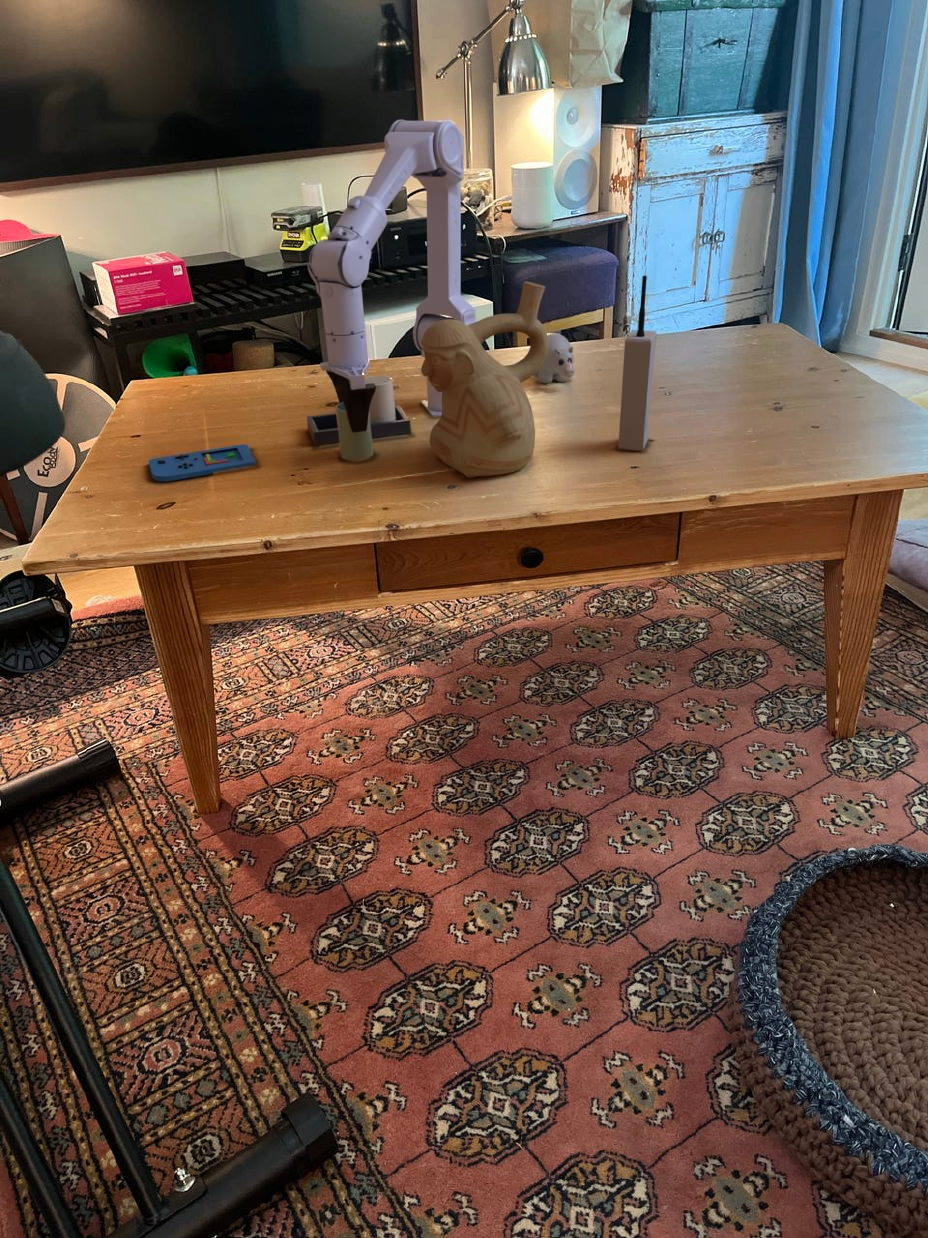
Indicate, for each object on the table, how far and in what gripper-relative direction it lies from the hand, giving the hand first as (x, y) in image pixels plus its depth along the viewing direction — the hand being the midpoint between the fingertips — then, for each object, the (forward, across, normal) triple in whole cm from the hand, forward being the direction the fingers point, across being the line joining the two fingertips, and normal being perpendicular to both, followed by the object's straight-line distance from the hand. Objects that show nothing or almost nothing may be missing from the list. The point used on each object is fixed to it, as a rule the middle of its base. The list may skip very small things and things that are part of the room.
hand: (354, 422), depth 135 cm
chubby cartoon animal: (+6, -22, +41) cm, 47 cm away
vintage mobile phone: (+6, +11, +41) cm, 43 cm away
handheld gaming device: (+5, -4, -23) cm, 24 cm away
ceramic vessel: (+6, +10, +18) cm, 21 cm away
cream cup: (+5, -9, +6) cm, 12 cm away
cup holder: (+5, -9, +2) cm, 11 cm away
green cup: (+5, 0, 0) cm, 5 cm away
